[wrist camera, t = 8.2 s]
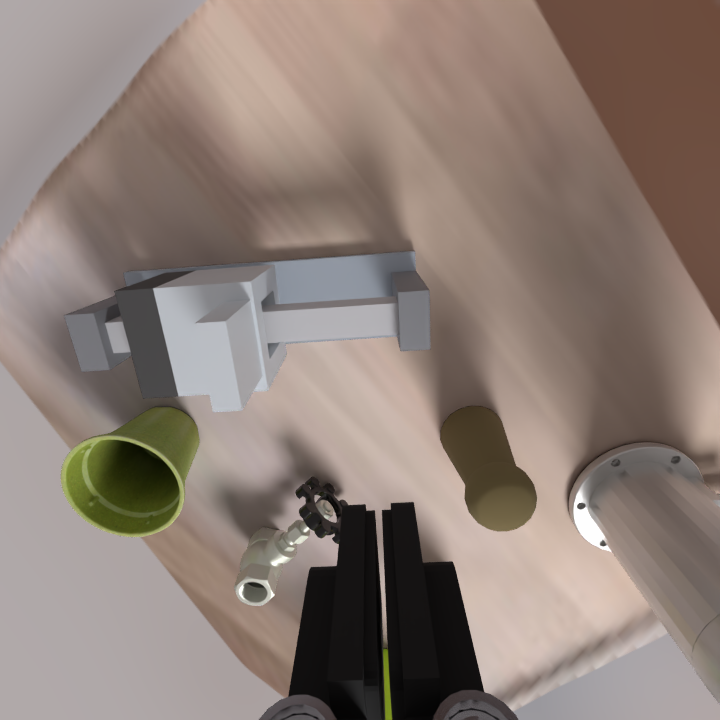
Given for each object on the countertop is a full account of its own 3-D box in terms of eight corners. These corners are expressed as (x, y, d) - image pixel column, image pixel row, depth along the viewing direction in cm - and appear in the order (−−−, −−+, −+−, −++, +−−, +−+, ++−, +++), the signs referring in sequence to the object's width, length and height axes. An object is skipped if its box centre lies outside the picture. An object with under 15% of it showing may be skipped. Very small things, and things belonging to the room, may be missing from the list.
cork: (436, 411, 41) (460, 483, 30) (501, 400, 40) (547, 470, 30) (444, 465, 43) (469, 550, 33) (506, 456, 42) (551, 538, 32)
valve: (279, 567, 48) (355, 503, 45) (266, 622, 42) (353, 551, 38) (232, 533, 46) (306, 464, 43) (211, 585, 40) (297, 509, 37)
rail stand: (414, 250, 36) (429, 266, 27) (416, 332, 38) (430, 370, 30) (128, 271, 37) (56, 292, 28) (148, 349, 39) (87, 391, 31)
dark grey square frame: (196, 270, 33) (152, 288, 26) (214, 359, 36) (178, 396, 29) (165, 272, 33) (114, 291, 26) (185, 360, 36) (143, 398, 29)
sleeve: (274, 264, 33) (225, 299, 21) (286, 354, 35) (248, 428, 24) (196, 270, 33) (106, 307, 22) (214, 359, 36) (142, 434, 24)
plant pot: (153, 369, 40) (99, 412, 32) (237, 430, 42) (206, 485, 34) (101, 436, 42) (38, 492, 34) (183, 490, 44) (142, 556, 36)
